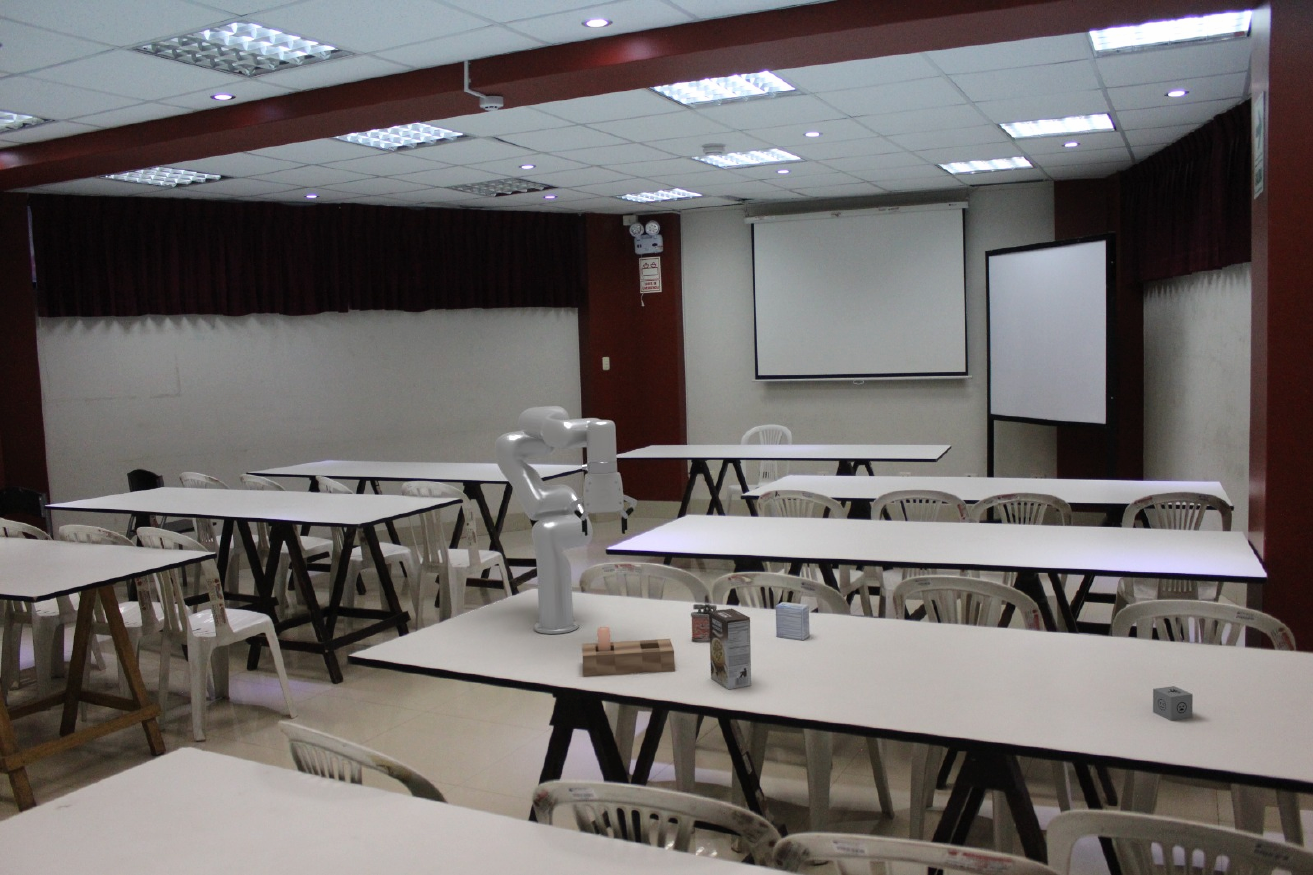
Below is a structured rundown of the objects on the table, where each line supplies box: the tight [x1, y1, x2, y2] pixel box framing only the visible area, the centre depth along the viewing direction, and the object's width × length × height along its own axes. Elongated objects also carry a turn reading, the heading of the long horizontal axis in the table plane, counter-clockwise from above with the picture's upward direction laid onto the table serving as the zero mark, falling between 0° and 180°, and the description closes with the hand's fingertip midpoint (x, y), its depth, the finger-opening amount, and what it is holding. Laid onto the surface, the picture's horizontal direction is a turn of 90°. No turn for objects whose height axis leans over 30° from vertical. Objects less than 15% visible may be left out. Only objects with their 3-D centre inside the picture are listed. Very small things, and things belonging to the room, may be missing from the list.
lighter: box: [690, 602, 718, 644], centre depth 258 cm, size 8×3×10 cm, turn 84°
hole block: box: [581, 638, 676, 677], centre depth 239 cm, size 10×22×5 cm, turn 95°
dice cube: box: [1152, 685, 1194, 722], centre depth 197 cm, size 5×5×5 cm
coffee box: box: [709, 608, 752, 690], centre depth 225 cm, size 9×6×16 cm
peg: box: [597, 626, 611, 652], centre depth 238 cm, size 3×3×10 cm
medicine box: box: [775, 601, 811, 641], centre depth 259 cm, size 8×4×9 cm, turn 58°
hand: (604, 534), depth 252 cm, fingers open, 9 cm apart
